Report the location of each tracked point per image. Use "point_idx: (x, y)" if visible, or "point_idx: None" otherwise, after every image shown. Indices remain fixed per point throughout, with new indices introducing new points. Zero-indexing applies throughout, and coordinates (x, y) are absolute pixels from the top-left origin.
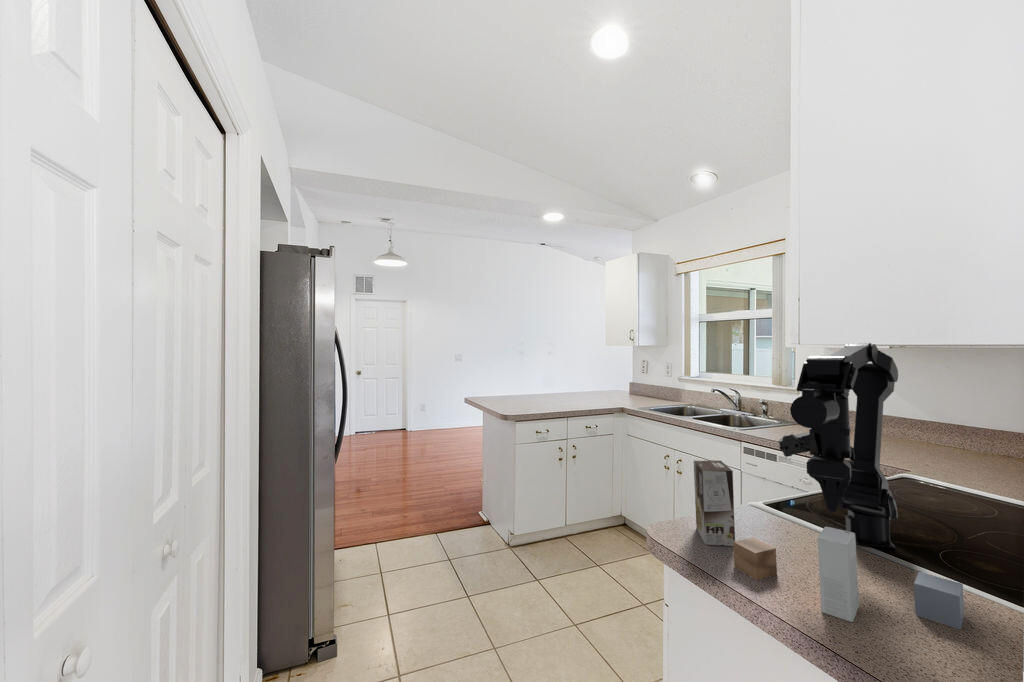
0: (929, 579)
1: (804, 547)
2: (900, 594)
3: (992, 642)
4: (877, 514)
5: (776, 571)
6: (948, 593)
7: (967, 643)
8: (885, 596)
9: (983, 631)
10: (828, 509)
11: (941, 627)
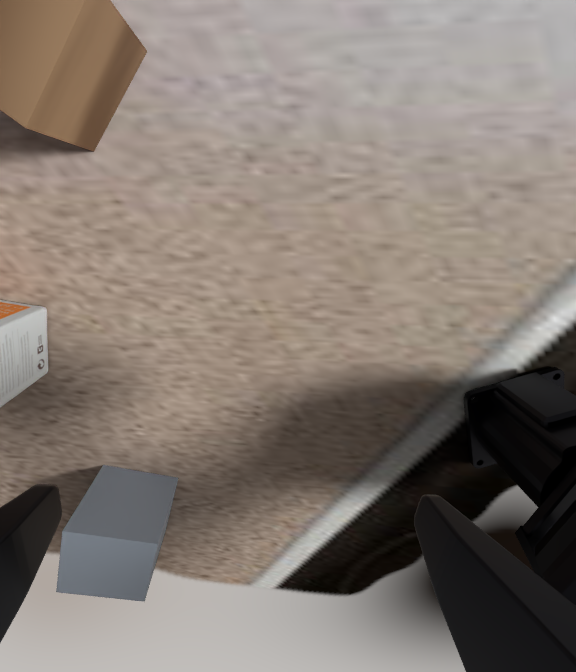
0: (119, 556)
1: (391, 246)
2: (191, 450)
3: None
4: (544, 515)
5: (85, 148)
6: (59, 577)
7: None
8: (157, 424)
9: None
10: (25, 495)
11: (79, 495)
